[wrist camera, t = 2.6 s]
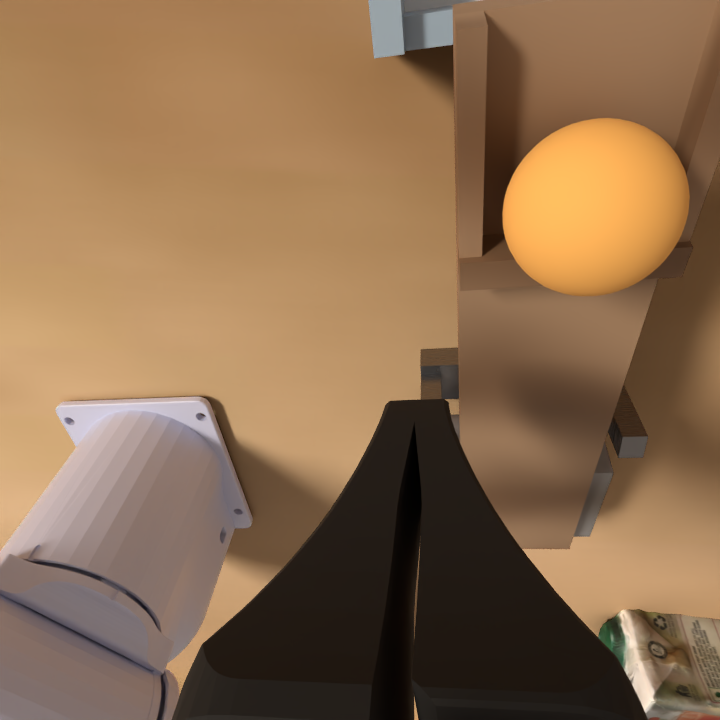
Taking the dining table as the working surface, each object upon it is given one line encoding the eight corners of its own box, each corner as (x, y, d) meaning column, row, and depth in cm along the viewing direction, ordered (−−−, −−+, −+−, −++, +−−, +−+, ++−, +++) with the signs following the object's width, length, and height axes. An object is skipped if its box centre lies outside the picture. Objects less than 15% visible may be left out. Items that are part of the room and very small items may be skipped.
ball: (637, 227, 12) (685, 326, 10) (491, 238, 13) (508, 335, 11) (678, 77, 10) (751, 165, 8) (497, 98, 10) (519, 187, 8)
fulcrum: (601, 375, 23) (640, 465, 19) (423, 382, 24) (422, 468, 20) (607, 340, 22) (650, 427, 18) (420, 349, 23) (419, 433, 19)
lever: (578, 489, 26) (597, 571, 24) (438, 490, 28) (441, 569, 25) (749, -76, 10) (864, -22, 8) (399, -23, 12) (394, 42, 9)
